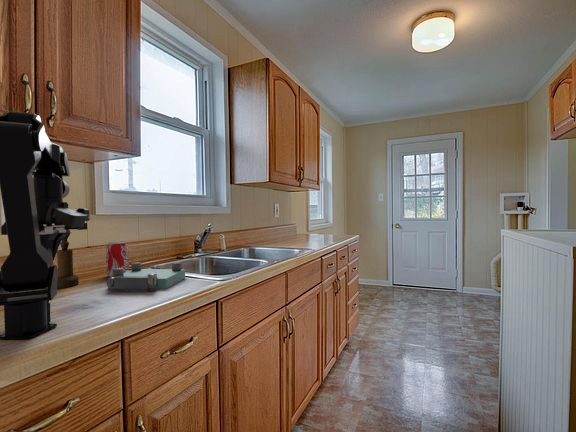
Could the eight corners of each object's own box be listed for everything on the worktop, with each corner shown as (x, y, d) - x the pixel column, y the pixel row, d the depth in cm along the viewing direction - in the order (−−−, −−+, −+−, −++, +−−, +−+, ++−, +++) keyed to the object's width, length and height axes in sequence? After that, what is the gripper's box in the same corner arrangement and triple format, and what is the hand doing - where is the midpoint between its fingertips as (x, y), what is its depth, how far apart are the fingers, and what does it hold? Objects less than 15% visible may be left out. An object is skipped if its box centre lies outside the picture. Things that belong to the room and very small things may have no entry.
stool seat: (166, 288, 90) (166, 270, 90) (107, 288, 91) (107, 270, 91) (185, 277, 104) (184, 261, 104) (134, 277, 105) (133, 262, 105)
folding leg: (158, 288, 89) (158, 273, 89) (154, 290, 87) (153, 275, 86) (113, 288, 90) (112, 273, 90) (107, 290, 87) (106, 275, 87)
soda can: (119, 278, 105) (118, 243, 105) (101, 277, 107) (100, 243, 106) (133, 274, 112) (132, 241, 112) (116, 273, 114) (116, 241, 113)
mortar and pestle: (47, 287, 93) (45, 228, 93) (65, 282, 100) (63, 227, 99) (66, 288, 92) (64, 228, 92) (83, 283, 99) (82, 227, 98)
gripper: (45, 195, 65) (48, 268, 65) (105, 198, 84) (106, 255, 84) (-3, 196, 66) (-1, 268, 66) (66, 199, 84) (68, 255, 85)
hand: (50, 261), depth 75 cm, fingers closed
